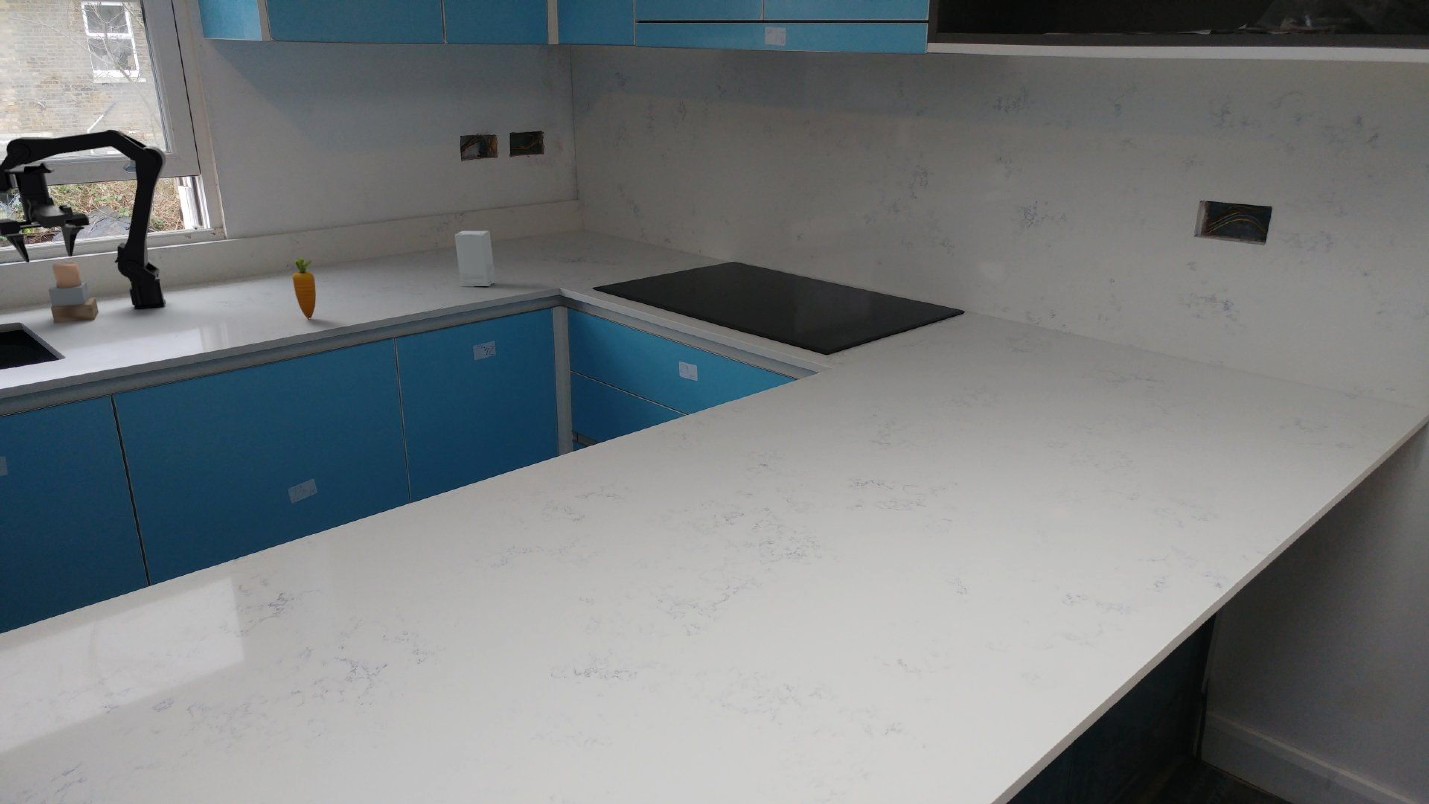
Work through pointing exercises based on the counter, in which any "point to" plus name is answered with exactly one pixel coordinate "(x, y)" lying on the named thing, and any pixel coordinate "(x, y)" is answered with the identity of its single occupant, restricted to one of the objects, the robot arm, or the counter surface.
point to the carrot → (305, 288)
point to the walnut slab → (75, 312)
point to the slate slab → (69, 295)
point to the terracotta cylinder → (67, 275)
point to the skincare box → (475, 258)
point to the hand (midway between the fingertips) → (49, 259)
